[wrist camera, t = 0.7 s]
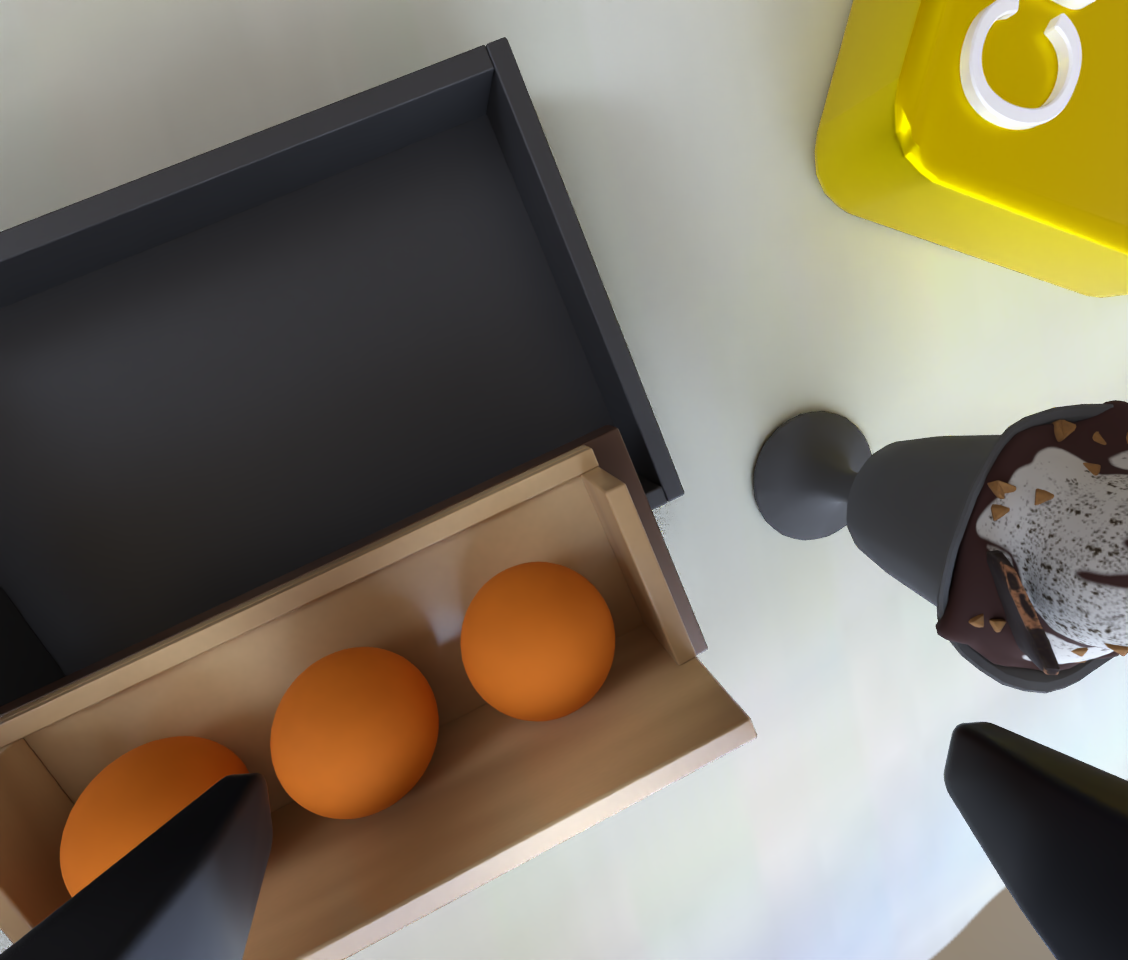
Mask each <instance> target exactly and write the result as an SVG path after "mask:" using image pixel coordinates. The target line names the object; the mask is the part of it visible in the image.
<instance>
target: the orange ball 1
mask: <svg viewBox="0 0 1128 960" xmlns="http://www.w3.org/2000/svg"><path fill="white" fill-rule="evenodd" d="M246 773H249V771H248V769H247V768H246V766H245V764H244V763H243V762H242V761H241V759H240V758H239V757H238V756H237V755H236V754H235V753H233V752H232V751H231V750H230V749H228V748H227V747H225V746H223V745H221V744H219V743H217V742H215V741H212V740H209V739H205V738H201V737H194V736H176V737H168V738H164V739H159V740H155V741H152V742H149V743H146V744H143V745H141V746H139V747H137V748H134V749H132V750H130V751H129V752H127V753H125V754H123V755H122V756H120V757H119V758H117V759H116V760H115V761H113V762H112V763H110V764H109V765H108V766H107V767H105V768H104V769H103V770H102V771H101V772H100V773H99V774H98V775H97V776H96V777H95V778H94V779H93V780H92V781H91V782H90V783H89V785H88V786H87V787H86V788H85V790H84V791H83V792H82V793H81V795H80V796H79V798H78V800H77V801H76V803H75V805H74V807H73V808H72V810H71V812H70V814H69V817H68V820H67V822H66V825H65V828H64V830H63V835H62V840H61V846H60V867H61V872H62V877H63V880H64V883H65V885H66V887H67V889H68V891H69V893H70V895H71V897H73V896H74V895H76V894H77V893H78V892H80V891H81V890H82V889H83V888H85V887H86V886H87V885H88V884H90V883H91V882H92V881H93V880H95V879H96V878H97V877H98V876H100V875H101V874H102V873H103V872H105V871H106V870H107V869H108V868H110V867H111V866H112V865H113V864H115V863H116V862H117V861H119V860H120V859H121V858H122V857H124V856H125V855H126V854H127V853H129V852H130V851H131V850H132V849H134V848H135V847H136V846H137V845H139V844H140V843H141V842H142V841H144V840H145V839H146V838H147V837H149V836H150V835H151V834H153V833H154V832H155V831H156V830H158V829H159V828H160V827H161V826H163V825H164V824H165V823H166V822H168V821H169V820H170V819H171V818H173V817H174V816H175V815H176V814H178V813H179V812H180V811H181V810H183V809H184V808H185V807H186V806H188V805H189V804H190V803H192V802H193V801H194V800H195V799H197V798H198V797H199V796H200V795H202V794H203V793H204V792H205V791H207V790H208V789H209V788H210V787H212V786H213V785H214V784H215V783H217V782H218V781H219V780H221V779H222V778H224V777H225V776H227V775H232V774H246Z"/></svg>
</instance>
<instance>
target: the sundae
mask: <svg viewBox="0 0 1128 960" xmlns="http://www.w3.org/2000/svg"><path fill="white" fill-rule="evenodd" d="M754 493H755V500H756V502H757V505H758V507H759V510H760V512H761V513H762V515H763V517H764V519H765V520H766V521H767V522H768V523H769V524H770V525H771V526H772V527H773V528H774V529H775V530H777V531H778V532H780V533H781V534H782V535H785V536H788V537H791V538H794V539H800V540H812V539H818V538H822V537H826V536H829V535H831V534H833V533H835V532H837V531H839V530H840V529H842V528H843V527H844V526H846V525H847V526H848V529H849V532H850V534H851V536H852V538H853V541H854V543H855V544H856V546H857V547H858V548H859V549H860V550H861V551H862V552H863V553H864V554H866V555H867V556H868V557H869V558H870V559H871V560H873V561H874V562H875V563H876V564H877V565H878V566H880V567H881V568H882V569H883V570H884V571H885V572H887V573H888V574H889V575H891V576H892V577H894V578H895V579H897V580H898V581H900V582H901V583H902V584H904V585H905V586H907V587H908V588H910V589H911V590H913V591H914V592H916V593H917V594H919V595H920V596H922V597H923V598H925V599H926V600H928V601H929V602H931V603H932V604H934V605H935V606H937V619H938V622H937V624H936V629H937V634H938V635H940V636H941V637H943V638H945V639H946V640H949V641H950V642H951V643H952V645H953V646H954V647H955V648H956V650H957V651H958V652H959V653H960V654H961V656H963V657H964V658H965V659H966V660H968V661H969V662H970V663H971V664H973V665H974V666H975V667H976V668H978V669H979V670H980V671H982V672H983V673H985V674H986V675H988V676H989V677H991V678H993V679H994V680H996V681H997V682H999V683H1000V684H1002V685H1006V686H1009V687H1012V688H1016V689H1019V690H1022V691H1028V692H1038V693H1048V692H1052V691H1056V690H1059V689H1063V688H1066V687H1068V686H1070V685H1072V684H1074V683H1076V682H1078V681H1080V680H1081V679H1083V678H1084V677H1085V676H1087V675H1088V674H1090V673H1091V672H1092V671H1094V670H1095V669H1097V668H1098V667H1100V666H1101V665H1103V664H1104V663H1106V662H1107V661H1109V660H1110V659H1112V658H1113V657H1115V656H1118V655H1119V654H1120V655H1122V656H1125V655H1126V654H1127V653H1128V403H1127V402H1124V401H1116V400H1115V401H1109V402H1105V403H1103V404H1080V405H1072V406H1063V407H1055V408H1051V409H1048V410H1045V411H1042V412H1039V413H1036V414H1033V415H1030V416H1027V417H1024V418H1022V419H1021V420H1019V421H1018V422H1016V423H1014V424H1013V425H1011V426H1009V427H1008V428H1007V429H1006V430H1005V432H1004V433H1003V434H1002V435H976V436H939V437H929V438H922V439H914V440H906V441H898V442H894V443H891V444H889V445H887V446H885V447H884V448H882V449H880V450H879V451H877V452H876V453H874V454H873V455H872V454H871V451H870V448H869V445H868V443H867V441H866V439H865V437H864V435H863V434H862V433H861V432H860V430H859V429H858V428H857V427H856V426H855V425H854V424H853V423H851V422H850V421H849V420H848V419H846V418H845V417H842V416H840V415H837V414H834V413H830V412H825V411H819V412H809V413H805V414H800V415H798V416H796V417H794V418H792V419H790V420H789V421H787V422H786V423H784V424H783V425H781V426H780V427H778V428H777V430H776V431H775V432H774V433H773V434H772V435H771V436H770V438H769V439H768V440H767V442H766V443H765V445H764V446H763V448H762V450H761V452H760V455H759V458H758V460H757V464H756V467H755V471H754Z"/></svg>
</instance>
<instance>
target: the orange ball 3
mask: <svg viewBox="0 0 1128 960" xmlns="http://www.w3.org/2000/svg"><path fill="white" fill-rule="evenodd" d="M460 645H461V654H462V661H463V664H464V667H465V670H466V673H467V675H468V678H469V680H470V681H471V683H472V685H473V687H474V688H475V689H476V691H477V692H478V693H479V695H480V696H481V697H482V698H483V699H484V700H485V701H486V702H487V703H488V704H490V705H491V706H492V707H494V708H495V709H497V710H498V711H499V712H501V713H504V714H506V715H508V716H510V717H513V718H516V719H520V720H525V721H536V722H539V721H550V720H554V719H558V718H561V717H564V716H567V715H569V714H571V713H573V712H575V711H576V710H578V709H580V708H581V707H582V706H584V705H585V704H586V703H587V702H589V701H590V700H591V699H592V698H593V697H594V696H595V694H596V693H597V692H598V691H599V689H600V688H601V686H602V685H603V683H604V682H605V680H606V678H607V676H608V674H609V671H610V669H611V666H612V662H613V658H614V652H615V629H614V624H613V620H612V616H611V613H610V610H609V608H608V606H607V604H606V602H605V600H604V598H603V597H602V596H601V594H600V593H599V592H598V590H597V589H596V588H595V586H594V585H593V584H591V583H590V582H589V581H588V580H587V579H586V578H585V577H583V576H582V575H581V574H579V573H577V572H576V571H574V570H572V569H570V568H568V567H565V566H562V565H559V564H555V563H549V562H528V563H523V564H519V565H516V566H513V567H510V568H508V569H505V570H504V571H502V572H500V573H498V574H497V575H495V576H494V577H492V578H491V579H490V580H489V581H488V582H486V583H485V584H484V585H483V586H482V588H481V589H480V590H479V591H478V592H477V594H476V595H475V597H474V598H473V600H472V601H471V603H470V605H469V607H468V609H467V612H466V615H465V617H464V620H463V625H462V630H461V643H460Z"/></svg>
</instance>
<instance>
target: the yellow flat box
mask: <svg viewBox="0 0 1128 960" xmlns="http://www.w3.org/2000/svg"><path fill="white" fill-rule="evenodd" d="M814 152H815V166H816V175H817V177H818V180H819V182H820V184H821V187H822V189H823V191H824V193H825V194H826V195H827V196H828V197H829V198H830V199H831V200H832V201H833V202H834V203H835V204H836V205H837V206H838V207H839V208H841V209H842V210H844V211H845V212H847V213H849V214H852V215H855V216H858V217H861V218H864V219H867V220H870V221H872V222H875V223H878V224H881V225H884V226H887V227H890V228H893V229H895V230H898V231H901V232H904V233H907V234H910V235H913V236H916V237H919V238H921V239H924V240H927V241H930V242H933V243H936V244H939V245H942V246H945V247H947V248H950V249H953V250H956V251H959V252H962V253H965V254H968V255H971V256H973V257H976V258H979V259H982V260H985V261H988V262H991V263H994V264H997V265H999V266H1002V267H1005V268H1008V269H1011V270H1014V271H1017V272H1020V273H1023V274H1025V275H1028V276H1031V277H1034V278H1037V279H1040V280H1043V281H1046V282H1049V283H1051V284H1054V285H1057V286H1060V287H1063V288H1066V289H1069V290H1072V291H1075V292H1077V293H1080V294H1083V295H1086V296H1093V297H1110V296H1120V295H1128V0H853V3H852V7H851V10H850V14H849V17H848V21H847V25H846V28H845V32H844V36H843V39H842V43H841V47H840V50H839V54H838V58H837V61H836V65H835V69H834V72H833V76H832V80H831V83H830V87H829V91H828V94H827V98H826V102H825V105H824V109H823V113H822V116H821V120H820V124H819V127H818V131H817V137H816V144H815V151H814Z"/></svg>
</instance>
